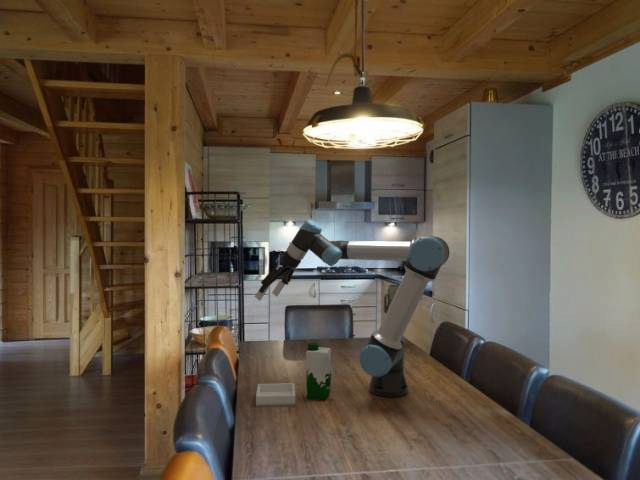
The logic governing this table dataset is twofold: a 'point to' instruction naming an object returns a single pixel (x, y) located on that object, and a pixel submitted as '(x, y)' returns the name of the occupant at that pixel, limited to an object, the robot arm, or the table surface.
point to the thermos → (390, 296)
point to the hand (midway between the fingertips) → (266, 296)
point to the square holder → (275, 394)
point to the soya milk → (318, 372)
